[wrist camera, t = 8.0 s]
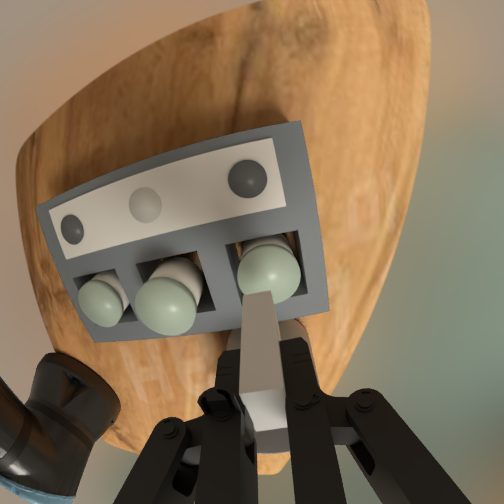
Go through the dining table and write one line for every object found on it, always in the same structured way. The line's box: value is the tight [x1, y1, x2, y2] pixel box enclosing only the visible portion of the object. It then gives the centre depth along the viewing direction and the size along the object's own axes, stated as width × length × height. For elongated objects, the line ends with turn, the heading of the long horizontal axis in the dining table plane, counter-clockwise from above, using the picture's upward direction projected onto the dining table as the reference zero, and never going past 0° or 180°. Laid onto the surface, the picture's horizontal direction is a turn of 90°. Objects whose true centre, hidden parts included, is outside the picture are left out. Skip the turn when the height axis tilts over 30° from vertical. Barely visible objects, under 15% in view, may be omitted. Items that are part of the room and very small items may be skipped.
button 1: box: [237, 233, 301, 304], centre depth 20 cm, size 4×4×4 cm
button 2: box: [78, 269, 130, 327], centre depth 21 cm, size 4×4×4 cm
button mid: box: [135, 257, 204, 336], centre depth 19 cm, size 4×4×4 cm
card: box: [49, 138, 286, 260], centre depth 17 cm, size 18×4×1 cm, turn 103°
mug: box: [226, 319, 320, 454], centre depth 23 cm, size 12×8×11 cm
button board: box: [35, 120, 330, 342], centre depth 21 cm, size 22×14×4 cm, turn 103°
